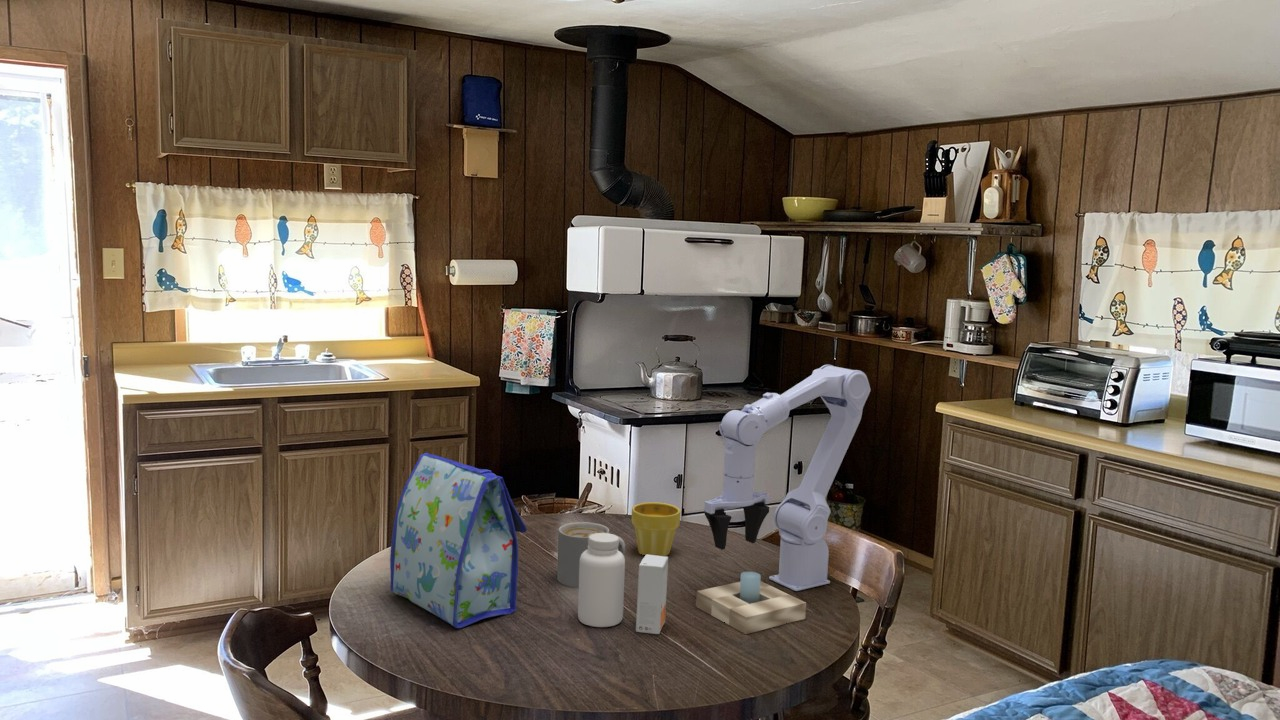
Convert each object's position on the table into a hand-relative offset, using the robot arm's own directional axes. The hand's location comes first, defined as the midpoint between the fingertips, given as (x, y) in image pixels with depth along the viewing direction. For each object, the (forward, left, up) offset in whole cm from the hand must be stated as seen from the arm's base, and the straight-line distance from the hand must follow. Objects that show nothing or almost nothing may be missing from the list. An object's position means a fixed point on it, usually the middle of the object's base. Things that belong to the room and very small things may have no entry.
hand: (735, 544), depth 181 cm
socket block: (+3, +8, -10) cm, 13 cm away
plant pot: (-1, -27, -10) cm, 29 cm away
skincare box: (+22, +5, -10) cm, 25 cm away
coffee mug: (+19, -20, -10) cm, 30 cm away
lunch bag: (+47, -21, -10) cm, 53 cm away
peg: (+3, +8, -10) cm, 13 cm away
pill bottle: (+28, -2, -10) cm, 30 cm away
